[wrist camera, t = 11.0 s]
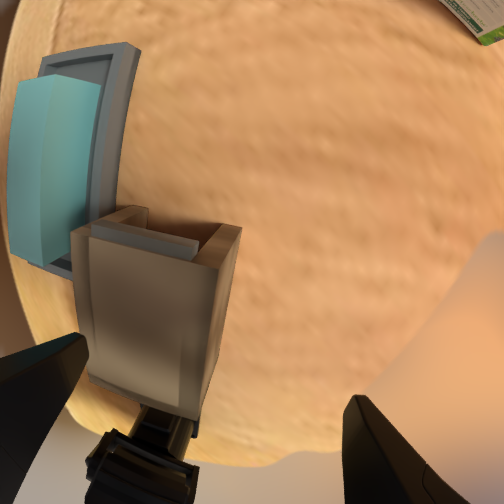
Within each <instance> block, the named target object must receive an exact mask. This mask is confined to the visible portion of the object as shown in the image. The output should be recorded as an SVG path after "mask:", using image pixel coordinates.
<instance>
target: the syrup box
mask: <svg viewBox="0 0 504 504" xmlns="http://www.w3.org/2000/svg"><path fill="white" fill-rule="evenodd" d="M438 1H440V2H442V3H443V4H444V5H445V6H446V7H447V8H448V9H449V10H450V11H451V12H452V13H453V14H454V15H455V16H456V17H457V18H458V19H459V20H460V21H461V22H462V23H463V24H464V25H465V26H466V27H467V28H468V29H469V30H470V31H471V32H472V33H473V34H474V35H475V36H476V37H477V38H478V40H479V41H480V42H481V43H482V45H484V46H488V45H490V44H493V43H495V42H497V41H500V40H502V39H504V0H438Z"/></svg>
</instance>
